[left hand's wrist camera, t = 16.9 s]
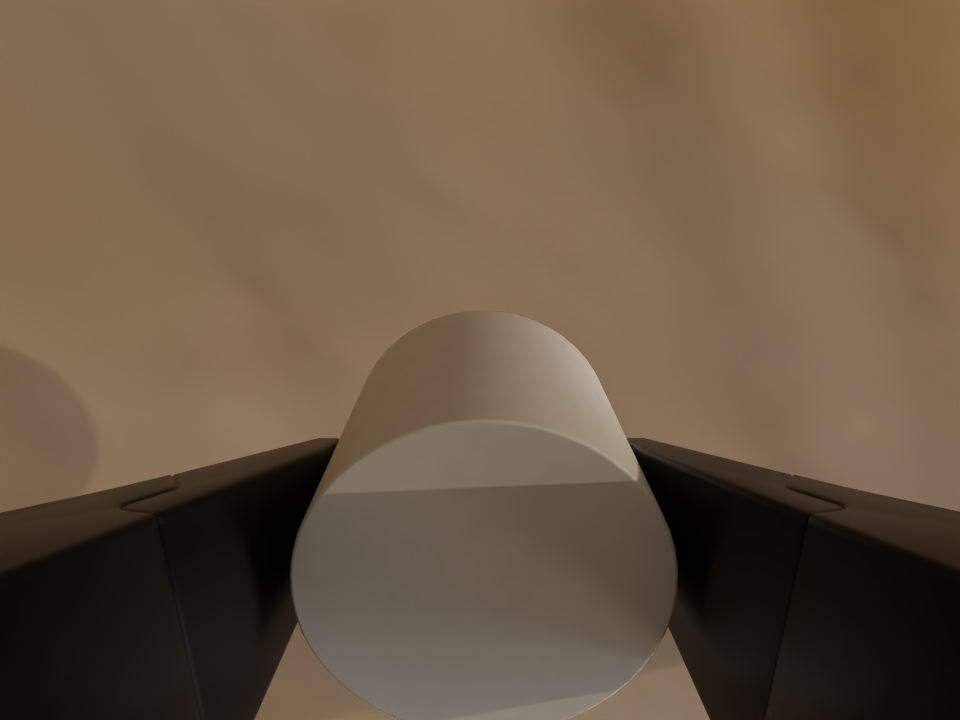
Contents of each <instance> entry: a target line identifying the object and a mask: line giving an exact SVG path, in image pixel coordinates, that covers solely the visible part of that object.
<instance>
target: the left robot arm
mask: <svg viewBox="0 0 960 720" xmlns="http://www.w3.org/2000/svg"><path fill="white" fill-rule="evenodd" d="M339 440H340V439H338V438H318V439H314V440H310V441H306V442H302V443H298V444H294V445H290V446H286V447H282V448H278V449H274V450H270V451H266V452H262V453H258V454H254V455H250V456H246V457H242V458H238V459H234V460H230V461H226V462H222V463H218V464H214V465H210V466H206V467H202V468H198V469H194V470H190V471H186V472H182V473H178V474H175V475H173V477H172V476H171V475H167V476H163V477H159V478H155V479H151V480H147V481H142V482H138V483H134V484H130V485H126V486H122V487H117V488H113V489H108V490H104V491H100V492H95V493H91V494H86V495H82V496H77V497H72V498H68V499H63V500H58V501H54V502H49V503H44V504H40V505H35V506H30V507H26V508H21V509H17V510H12V511H7V512H3V513H0V720H254V719H255V717H256V714H257V712H258V710H259V708H260V705H261V703H262V701H263V698H264V696H265V694H266V692H267V689H268V687H269V685H270V683H271V680H272V678H273V676H274V674H275V671H276V669H277V667H278V665H279V662H280V660H281V658H282V656H283V653H284V651H285V649H286V647H287V644H288V642H289V640H290V637H291V635H292V633H293V631H294V628H295V626H296V624H297V622H298V620H297V617H296V614H295V610H294V605H293V601H292V596H291V584H290V567H291V557H292V551H293V547H294V543H295V540H296V536H297V532H298V530H299V528H300V526H301V523H302V521H303V519H304V517H305V514H306V512H307V510H308V508H309V506H310V503H311V501H312V499H313V497H314V495H315V492H316V490H317V488H318V486H319V484H320V481H321V479H322V477H323V475H324V473H325V470H326V468H327V466H328V464H329V462H330V459H331V457H332V455H333V453H334V451H335V448H336V446H337V444H338V442H339ZM627 440H628V443H629V445H630V447H631V449H632V451H633V453H634V455H635V457H636V459H637V461H638V464H639V466H640V468H641V470H642V472H643V474H644V476H645V478H646V480H647V482H648V484H649V487H650V489H651V491H652V493H653V495H654V497H655V499H656V501H657V503H658V505H659V508H660V510H661V512H662V514H663V516H664V518H665V520H666V522H667V525H668V527H669V529H670V532H671V535H672V539H673V542H674V546H675V549H676V557H677V565H678V585H677V595H676V600H675V605H674V609H673V614H672V617H671V619H670V622H669V624H668V627H669V629H670V631H671V634H672V636H673V638H674V640H675V643H676V645H677V647H678V649H679V651H680V654H681V656H682V658H683V660H684V663H685V665H686V667H687V669H688V672H689V674H690V676H691V678H692V680H693V683H694V685H695V687H696V689H697V692H698V694H699V696H700V698H701V701H702V703H703V705H704V707H705V709H706V712H707V714H708V716H709V718H710V720H960V512H958V511H954V510H949V509H944V508H940V507H935V506H930V505H926V504H921V503H916V502H912V501H907V500H902V499H897V498H893V497H888V496H883V495H879V494H874V493H870V492H865V491H861V490H856V489H852V488H848V487H843V486H839V485H835V484H831V483H826V482H822V481H818V480H814V479H810V478H806V477H801V476H797V475H793V476H791V475H790V474H786V473H782V472H778V471H774V470H770V469H766V468H762V467H758V466H754V465H750V464H746V463H742V462H738V461H734V460H730V459H726V458H722V457H718V456H714V455H710V454H706V453H702V452H698V451H694V450H690V449H686V448H682V447H678V446H674V445H670V444H665V443H661V442H657V441H653V440H649V439H645V438H627Z"/></svg>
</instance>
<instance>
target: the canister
mask: <svg viewBox="0 0 960 720" xmlns="http://www.w3.org/2000/svg"><path fill="white" fill-rule="evenodd" d="M290 584H291V596H292V601H293V605H294V610H295V614H296V617H297V620H298V623H299V625H300V628H301V630H302V633H303V635H304V637H305V639H306V640H307V642H308V644H309V646H310V647H311V649H312V651H313V653H314V654H315V655H316V657H317V658H318V659H319V660H320V662H321V663H322V664H323V666H324V667H325V668H326V669H327V670H328V671H329V672H330V673H331V674H332V675H333V676H334V677H335V678H336V679H337V680H338V681H339V682H340V683H341V684H342V685H343V686H344V687H346V688H347V689H348V690H349V691H351V692H352V693H353V694H355V695H356V696H357V697H359V698H360V699H362V700H363V701H365V702H367V703H368V704H370V705H372V706H373V707H375V708H377V709H379V710H381V711H383V712H385V713H387V714H389V715H392V716H394V717H396V718H398V719H401V720H566V719H568V718H571V717H574V716H576V715H578V714H580V713H582V712H584V711H586V710H588V709H590V708H592V707H594V706H596V705H597V704H599V703H600V702H602V701H604V700H605V699H607V698H608V697H610V696H612V695H613V694H614V693H615V692H617V691H618V690H619V689H620V688H622V687H623V686H624V685H625V684H627V683H628V682H629V681H630V680H631V679H632V678H633V677H634V676H635V675H636V674H637V673H638V672H639V671H640V670H641V669H642V668H643V666H644V665H645V664H646V662H647V661H648V660H649V658H650V657H651V656H652V654H653V653H654V652H655V650H656V649H657V647H658V645H659V643H660V641H661V640H662V638H663V636H664V634H665V632H666V630H667V627H668V624H669V622H670V619H671V617H672V614H673V609H674V605H675V600H676V595H677V585H678V565H677V557H676V549H675V546H674V542H673V539H672V535H671V532H670V529H669V527H668V525H667V522H666V520H665V518H664V516H663V514H662V512H661V510H660V508H659V505H658V503H657V501H656V499H655V497H654V495H653V493H652V491H651V489H650V487H649V484H648V482H647V480H646V478H645V476H644V474H643V472H642V470H641V468H640V466H639V464H638V461H637V459H636V457H635V455H634V453H633V451H632V449H631V447H630V445H629V443H628V440H627V438H626V436H625V434H624V432H623V430H622V428H621V426H620V424H619V422H618V419H617V417H616V415H615V413H614V411H613V409H612V407H611V405H610V403H609V401H608V398H607V396H606V394H605V392H604V390H603V388H602V386H601V384H600V382H599V380H598V377H597V375H596V373H595V372H594V370H593V369H592V367H591V366H590V364H589V363H588V361H587V360H586V358H585V357H584V356H583V355H582V354H581V353H580V352H579V350H578V349H577V348H576V347H575V346H574V345H572V344H571V343H570V342H569V341H568V340H567V339H565V338H564V337H563V336H561V335H560V334H558V333H557V332H555V331H554V330H552V329H551V328H549V327H547V326H545V325H543V324H541V323H538V322H536V321H534V320H531V319H528V318H525V317H522V316H519V315H515V314H510V313H504V312H498V311H469V312H461V313H456V314H451V315H446V316H443V317H440V318H437V319H434V320H431V321H429V322H427V323H425V324H423V325H421V326H419V327H417V328H415V329H413V330H412V331H410V332H409V333H407V334H406V335H404V336H403V337H401V338H400V339H399V340H398V341H396V342H395V343H394V344H393V345H392V346H391V347H390V348H388V350H387V351H386V352H385V353H384V354H383V355H382V357H381V358H380V359H379V360H378V361H377V363H376V364H375V366H374V367H373V369H372V371H371V372H370V374H369V376H368V378H367V380H366V382H365V384H364V387H363V389H362V391H361V393H360V395H359V398H358V400H357V402H356V404H355V406H354V409H353V411H352V413H351V415H350V417H349V420H348V422H347V424H346V426H345V429H344V431H343V433H342V435H341V437H340V440H339V442H338V444H337V446H336V448H335V451H334V453H333V455H332V457H331V459H330V462H329V464H328V466H327V468H326V470H325V473H324V475H323V477H322V479H321V481H320V484H319V486H318V488H317V490H316V492H315V495H314V497H313V499H312V501H311V503H310V506H309V508H308V510H307V512H306V514H305V517H304V519H303V521H302V523H301V526H300V528H299V530H298V532H297V536H296V540H295V543H294V547H293V551H292V557H291V567H290Z"/></svg>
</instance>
